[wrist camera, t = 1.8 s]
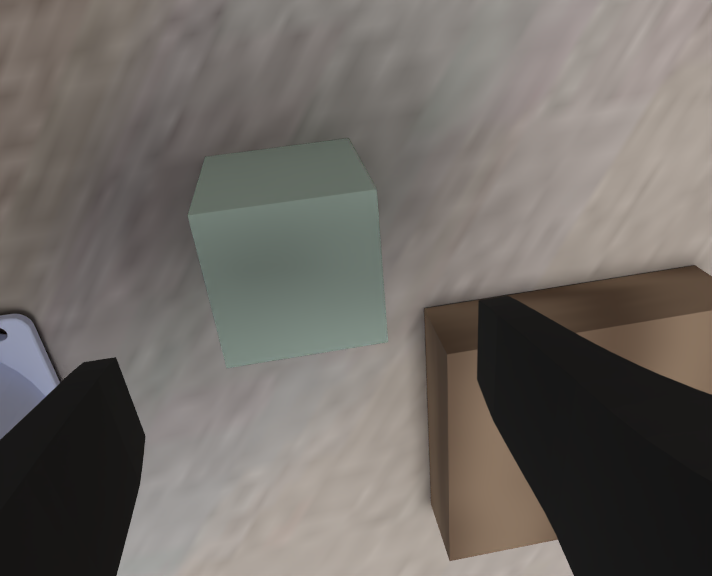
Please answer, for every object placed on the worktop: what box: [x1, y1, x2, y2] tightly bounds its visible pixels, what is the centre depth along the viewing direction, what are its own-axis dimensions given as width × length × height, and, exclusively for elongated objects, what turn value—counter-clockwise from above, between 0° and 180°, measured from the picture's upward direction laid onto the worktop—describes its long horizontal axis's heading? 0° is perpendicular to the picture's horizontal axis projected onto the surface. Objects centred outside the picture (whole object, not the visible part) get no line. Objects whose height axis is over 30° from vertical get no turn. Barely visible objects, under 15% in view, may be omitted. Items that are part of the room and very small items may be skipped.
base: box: [424, 266, 712, 561], centre depth 23 cm, size 11×11×3 cm
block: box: [188, 138, 388, 368], centre depth 17 cm, size 4×4×5 cm
